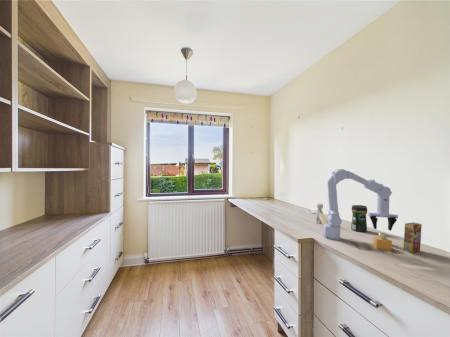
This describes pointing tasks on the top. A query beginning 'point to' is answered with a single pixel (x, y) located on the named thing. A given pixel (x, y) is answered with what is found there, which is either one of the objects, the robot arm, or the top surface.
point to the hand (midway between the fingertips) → (382, 229)
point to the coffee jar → (359, 218)
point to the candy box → (412, 237)
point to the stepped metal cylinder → (382, 235)
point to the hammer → (320, 215)
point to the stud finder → (382, 243)
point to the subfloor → (373, 248)
